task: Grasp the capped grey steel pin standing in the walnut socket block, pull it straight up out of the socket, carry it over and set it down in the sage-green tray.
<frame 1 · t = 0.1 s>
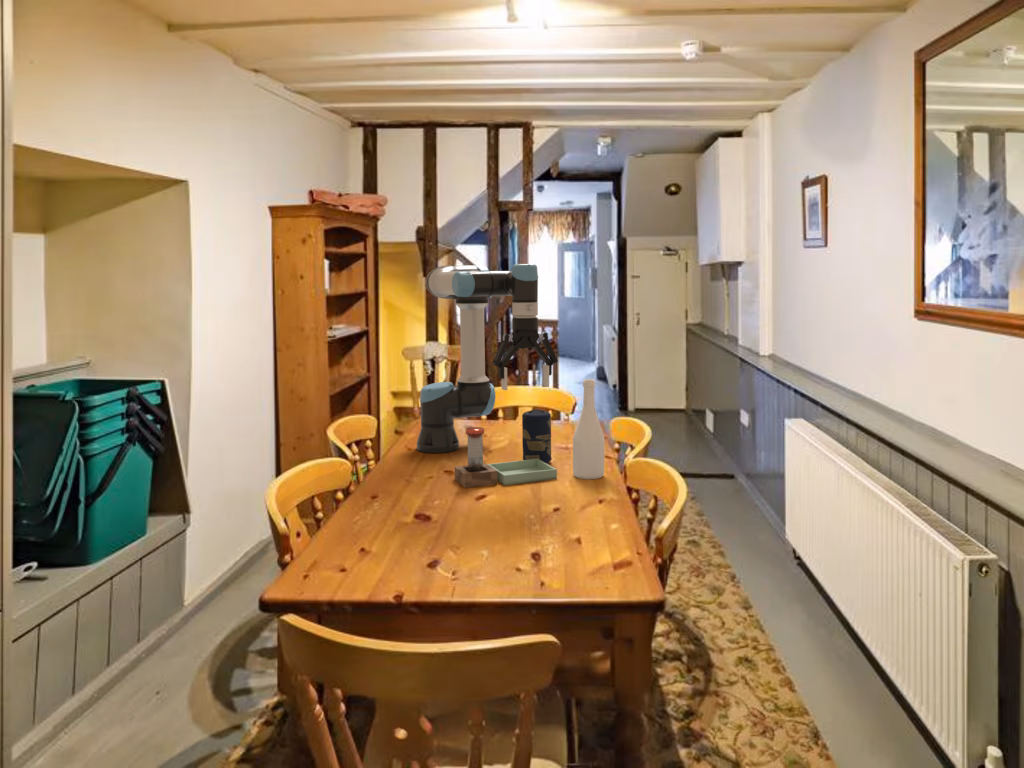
hand: (525, 388, 223), 28 cm above the table, fingers open, 13 cm apart
tray: (521, 476, 230), on the table
pin: (475, 455, 223), in the socket block
canister: (536, 463, 246), on the table
wine bottle: (588, 476, 230), on the table
socket block: (475, 481, 224), on the table
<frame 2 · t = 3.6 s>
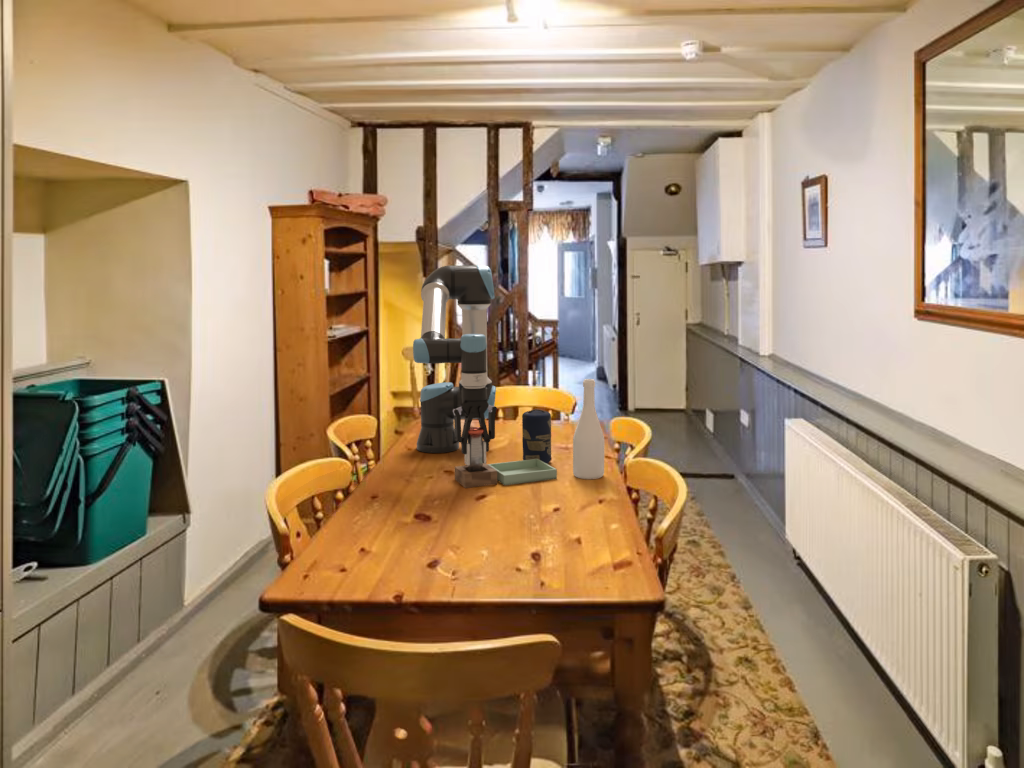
hand: (475, 463, 223), 6 cm above the table, fingers closed on pin, 4 cm apart
pin: (475, 455, 223), in the socket block, touching gripper
everything else where it was.
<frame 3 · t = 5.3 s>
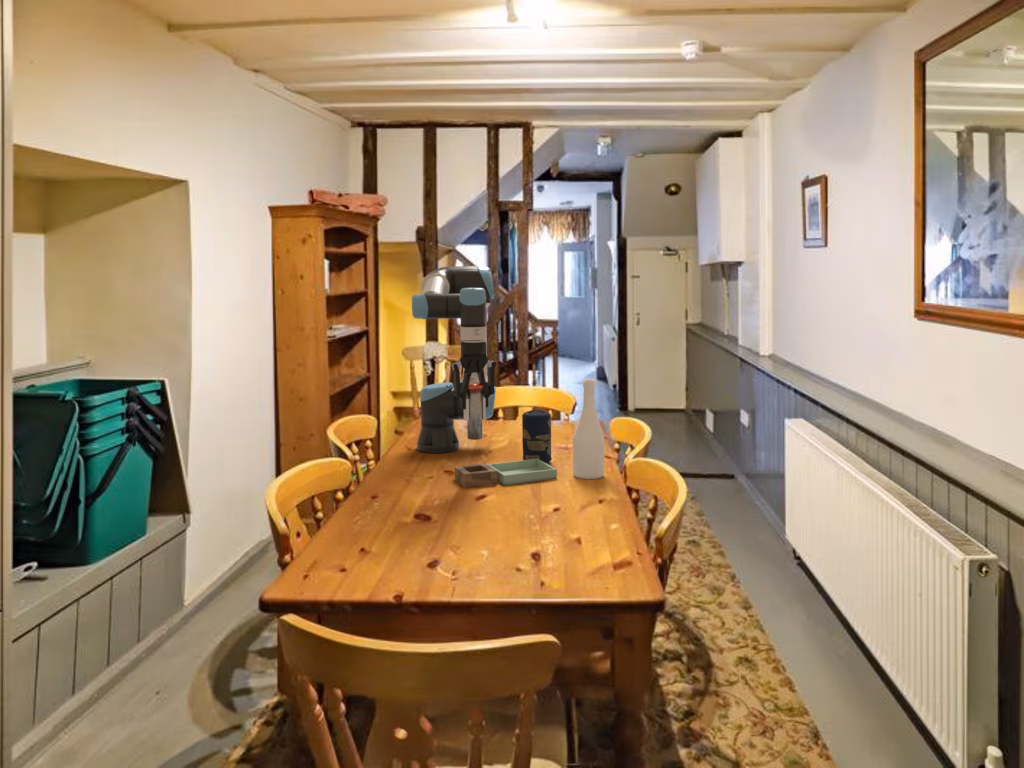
hand: (474, 418, 221), 19 cm above the table, fingers closed on pin, 4 cm apart
pin: (474, 411, 221), point 22 cm above the table, touching gripper
everything else where it was.
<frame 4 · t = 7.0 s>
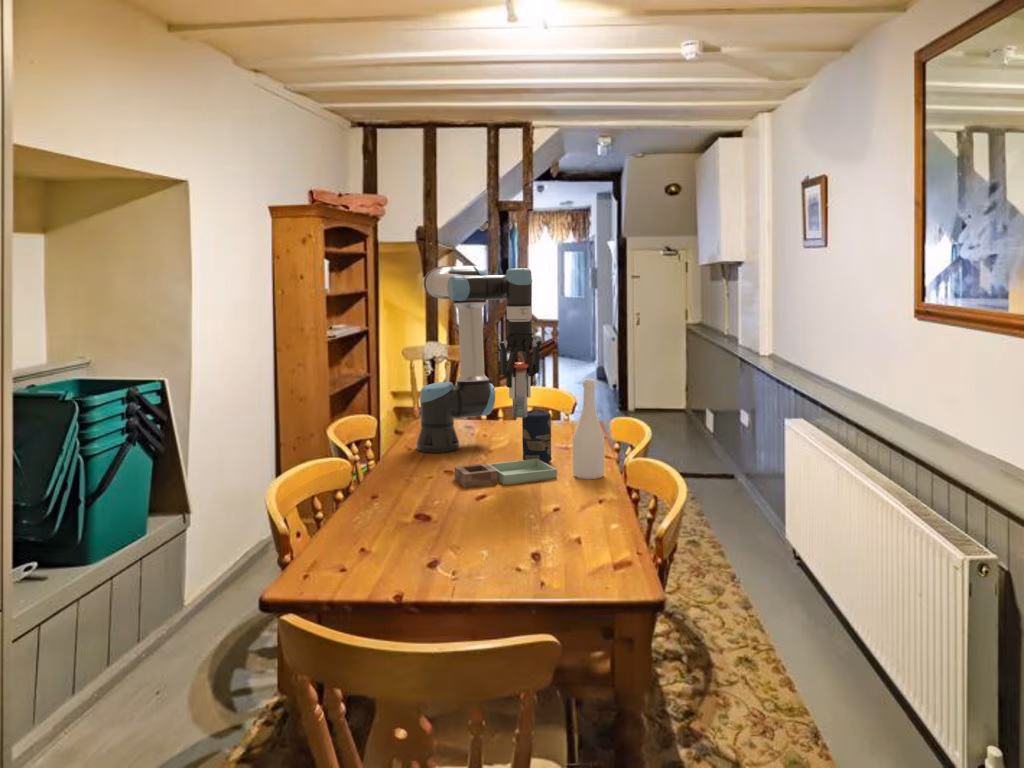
hand: (519, 397, 226), 25 cm above the table, fingers closed on pin, 4 cm apart
pin: (519, 389, 225), point 27 cm above the table, touching gripper
everything else where it was.
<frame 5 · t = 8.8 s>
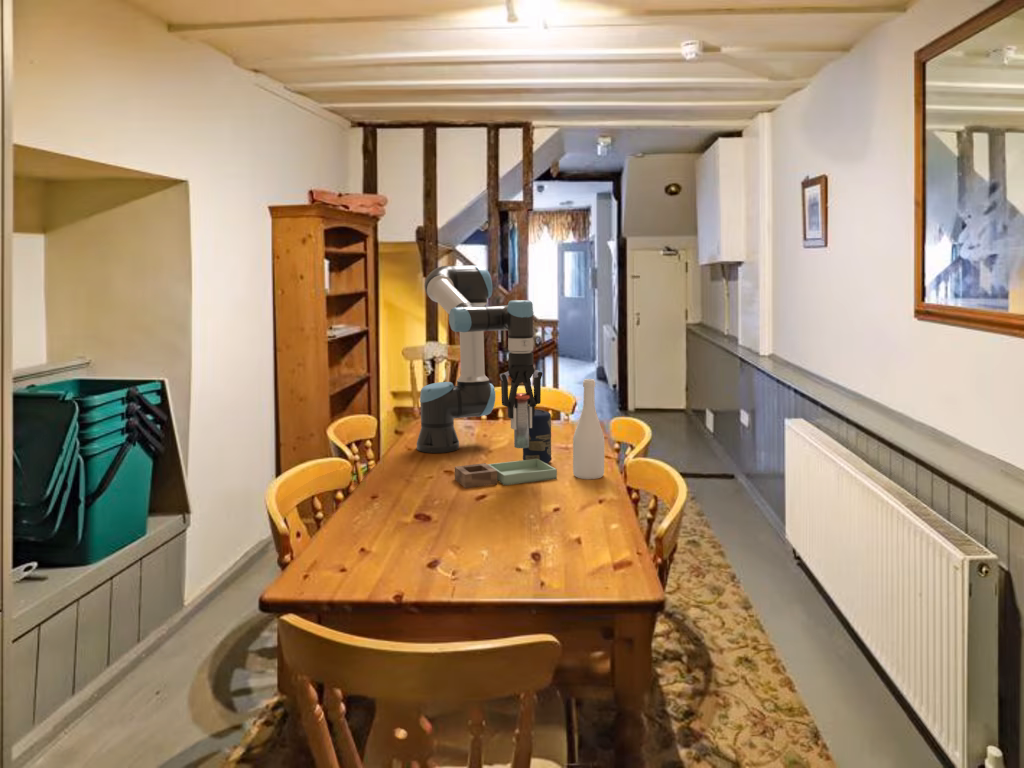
hand: (521, 427, 227), 15 cm above the table, fingers closed on pin, 4 cm apart
pin: (521, 420, 227), point 18 cm above the table, touching gripper
everything else where it was.
when the fingers open (8 cm above the table, at t = 10.5 s): pin drops 1 cm, resting on tray.
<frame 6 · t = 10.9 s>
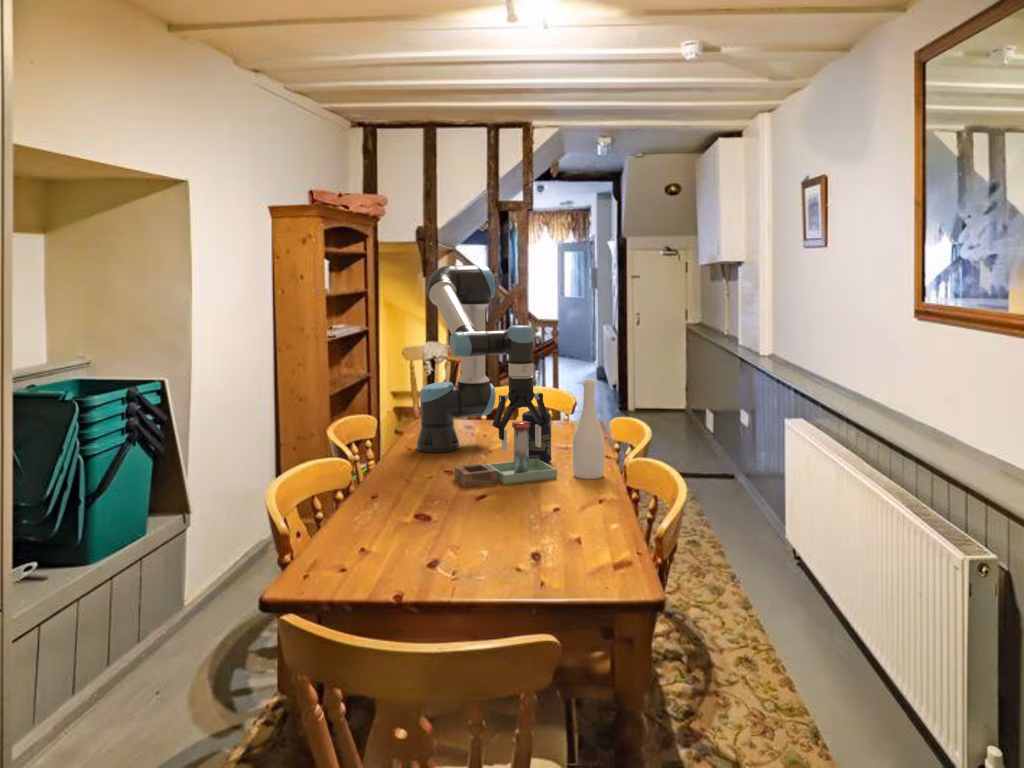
hand: (521, 448, 228), 9 cm above the table, fingers open, 10 cm apart
pin: (521, 448, 228), in the tray, point 9 cm above the table
everything else where it was.
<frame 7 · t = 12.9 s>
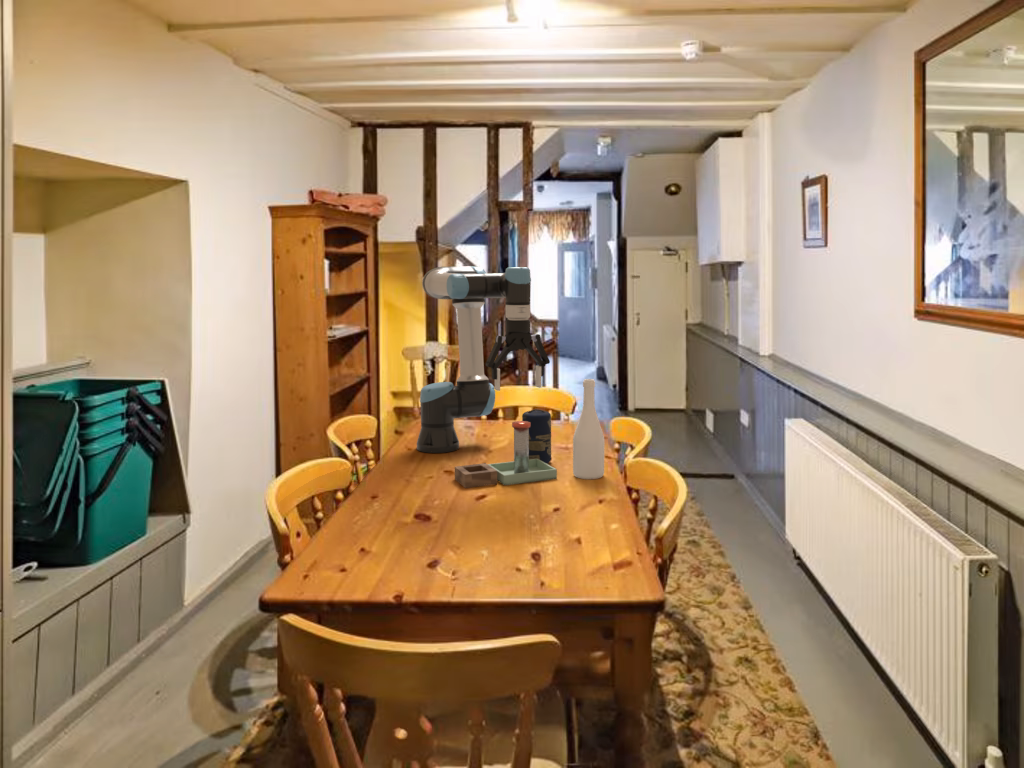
hand: (518, 388, 228), 27 cm above the table, fingers open, 13 cm apart
nothing on the table moved.
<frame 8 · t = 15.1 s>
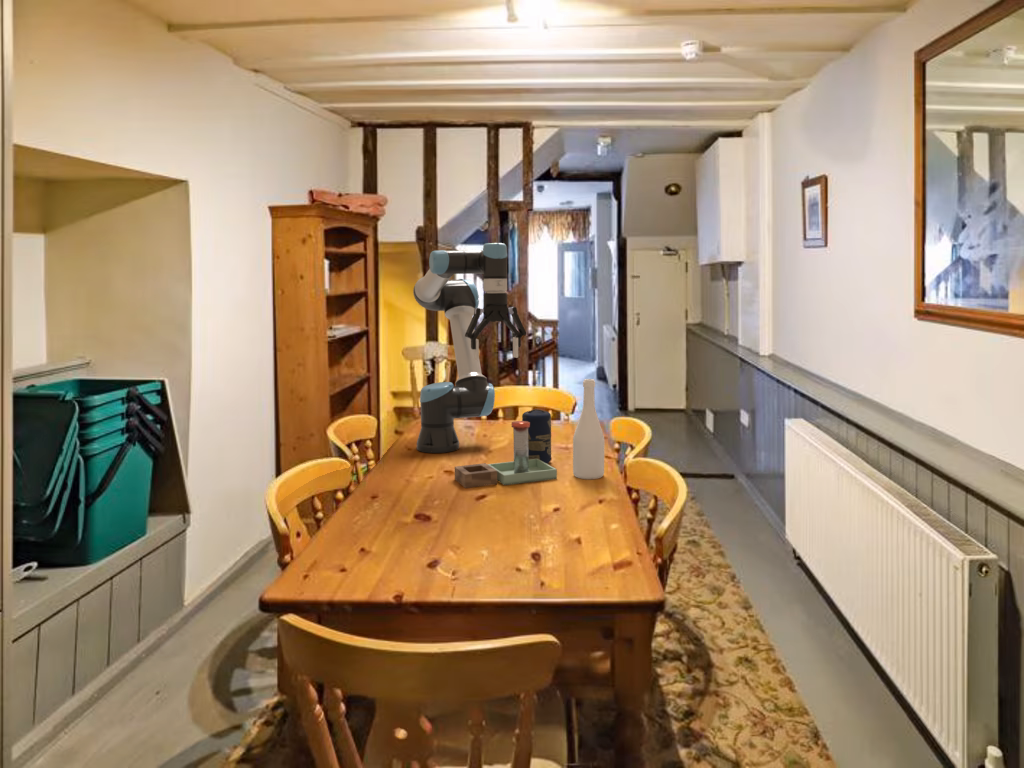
hand: (496, 358, 241), 35 cm above the table, fingers open, 13 cm apart
nothing on the table moved.
at the end: pin inside the target area on the tray (0.1 cm from its centre), point 8.7 cm above the tray's base; the gripper is holding nothing; pin moved 14.9 cm from its start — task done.
